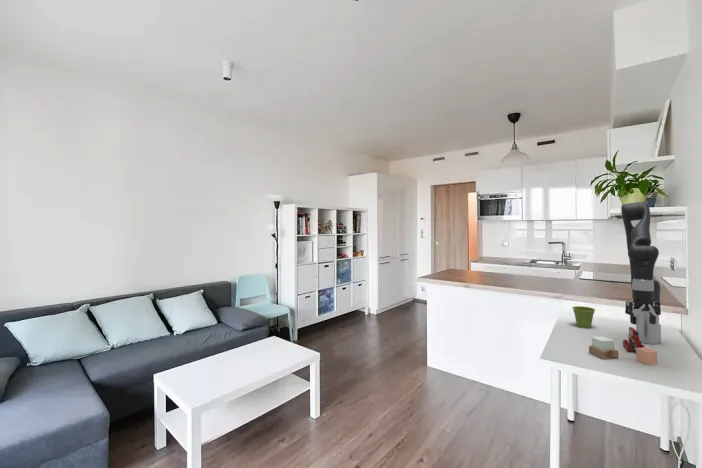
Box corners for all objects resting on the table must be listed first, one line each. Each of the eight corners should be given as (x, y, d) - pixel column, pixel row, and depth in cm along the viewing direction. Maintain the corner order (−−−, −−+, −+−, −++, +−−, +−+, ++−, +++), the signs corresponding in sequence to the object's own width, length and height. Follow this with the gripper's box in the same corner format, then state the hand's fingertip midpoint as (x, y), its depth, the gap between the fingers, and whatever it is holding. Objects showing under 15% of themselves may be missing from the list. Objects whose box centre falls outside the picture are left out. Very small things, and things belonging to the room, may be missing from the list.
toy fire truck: (628, 353, 161) (628, 332, 161) (621, 345, 172) (621, 325, 172) (647, 355, 158) (646, 334, 157) (638, 347, 169) (638, 327, 168)
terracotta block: (646, 360, 153) (646, 347, 153) (657, 364, 148) (656, 351, 148) (636, 360, 152) (636, 347, 152) (646, 365, 147) (646, 351, 147)
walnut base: (604, 352, 163) (604, 344, 163) (618, 359, 155) (618, 350, 155) (589, 353, 163) (588, 345, 163) (602, 360, 155) (602, 351, 155)
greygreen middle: (603, 345, 162) (603, 336, 162) (613, 349, 156) (613, 340, 156) (591, 346, 162) (591, 337, 162) (602, 350, 156) (601, 341, 156)
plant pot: (567, 324, 209) (567, 306, 209) (584, 323, 211) (584, 305, 210) (582, 330, 198) (582, 311, 197) (600, 328, 199) (600, 310, 199)
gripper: (651, 287, 155) (650, 321, 155) (620, 287, 155) (620, 321, 155) (666, 290, 148) (666, 326, 148) (634, 290, 148) (634, 326, 148)
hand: (642, 324), depth 152 cm, fingers open, 8 cm apart
